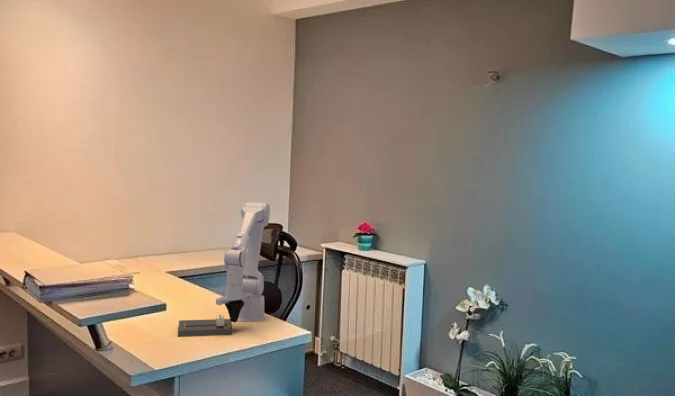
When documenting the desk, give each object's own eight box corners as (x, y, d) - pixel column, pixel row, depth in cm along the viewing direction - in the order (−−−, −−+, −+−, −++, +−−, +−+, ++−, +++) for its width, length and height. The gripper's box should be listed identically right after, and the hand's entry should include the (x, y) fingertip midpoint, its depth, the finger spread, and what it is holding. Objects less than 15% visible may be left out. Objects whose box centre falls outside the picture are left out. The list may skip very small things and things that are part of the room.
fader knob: (223, 321, 208) (223, 314, 208) (224, 325, 203) (224, 318, 203) (216, 321, 207) (216, 314, 207) (216, 326, 203) (216, 318, 202)
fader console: (230, 324, 213) (230, 318, 213) (232, 334, 202) (232, 328, 201) (179, 326, 209) (179, 320, 209) (177, 336, 197) (177, 330, 197)
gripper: (243, 278, 213) (242, 315, 214) (210, 284, 202) (209, 323, 203) (256, 281, 209) (255, 319, 210) (223, 288, 198) (222, 327, 199)
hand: (233, 321), depth 206 cm, fingers closed
